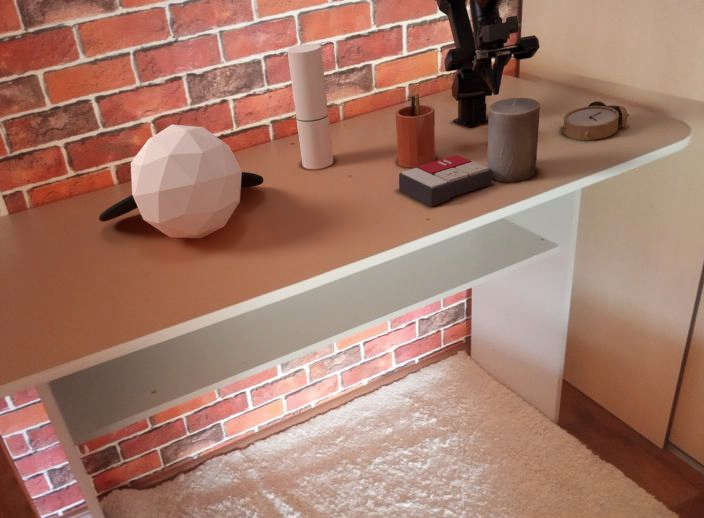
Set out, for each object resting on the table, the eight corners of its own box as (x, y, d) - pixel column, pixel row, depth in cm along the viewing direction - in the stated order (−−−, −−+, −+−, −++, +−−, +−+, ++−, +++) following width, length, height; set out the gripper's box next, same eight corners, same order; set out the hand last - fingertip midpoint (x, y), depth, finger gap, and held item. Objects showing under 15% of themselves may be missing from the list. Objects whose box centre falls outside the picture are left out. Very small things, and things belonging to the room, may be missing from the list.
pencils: (406, 156, 155) (403, 91, 147) (418, 152, 157) (416, 88, 148) (414, 159, 153) (412, 94, 145) (426, 155, 154) (424, 90, 146)
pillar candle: (542, 166, 144) (548, 91, 136) (525, 185, 138) (530, 108, 130) (497, 161, 149) (499, 89, 141) (478, 179, 143) (480, 105, 135)
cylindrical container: (334, 155, 164) (322, 42, 150) (332, 167, 158) (319, 50, 144) (304, 158, 165) (289, 45, 151) (300, 170, 159) (285, 54, 145)
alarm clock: (551, 120, 157) (599, 90, 161) (552, 140, 160) (599, 111, 164) (593, 131, 149) (641, 99, 152) (593, 152, 152) (641, 121, 155)
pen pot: (391, 161, 157) (388, 111, 151) (420, 151, 160) (418, 102, 153) (413, 171, 151) (410, 119, 145) (442, 160, 154) (441, 109, 147)
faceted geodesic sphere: (112, 267, 123) (75, 142, 117) (108, 250, 151) (78, 147, 144) (300, 221, 131) (275, 100, 124) (263, 212, 158) (241, 113, 152)
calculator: (493, 166, 138) (431, 185, 133) (492, 187, 141) (431, 206, 135) (457, 152, 147) (398, 169, 141) (456, 172, 149) (398, 190, 144)
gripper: (447, 10, 140) (458, 88, 141) (541, -6, 139) (552, 73, 140) (439, 33, 151) (449, 106, 152) (526, 19, 151) (536, 92, 151)
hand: (496, 94), depth 148 cm, fingers closed
